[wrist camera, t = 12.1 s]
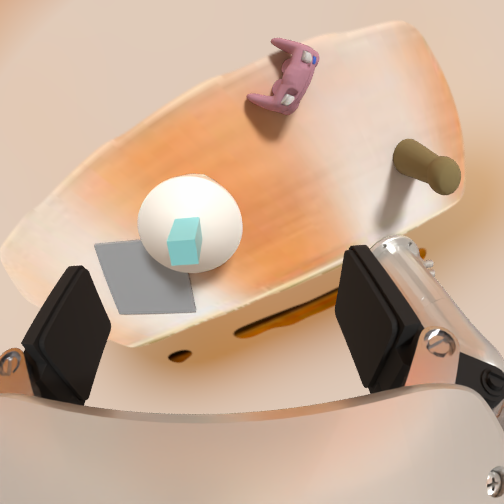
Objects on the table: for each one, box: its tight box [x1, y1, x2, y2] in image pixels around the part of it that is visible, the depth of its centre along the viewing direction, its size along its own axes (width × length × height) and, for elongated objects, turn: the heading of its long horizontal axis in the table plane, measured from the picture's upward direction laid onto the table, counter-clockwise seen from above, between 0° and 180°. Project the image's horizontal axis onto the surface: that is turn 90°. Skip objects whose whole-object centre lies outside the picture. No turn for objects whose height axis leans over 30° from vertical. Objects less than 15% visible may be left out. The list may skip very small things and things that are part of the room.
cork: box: [393, 139, 461, 195], centre depth 33 cm, size 6×6×11 cm
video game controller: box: [247, 38, 319, 115], centre depth 29 cm, size 10×5×7 cm, turn 159°
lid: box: [138, 175, 242, 273], centre depth 32 cm, size 13×13×6 cm
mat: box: [94, 240, 196, 314], centre depth 46 cm, size 15×15×1 cm
